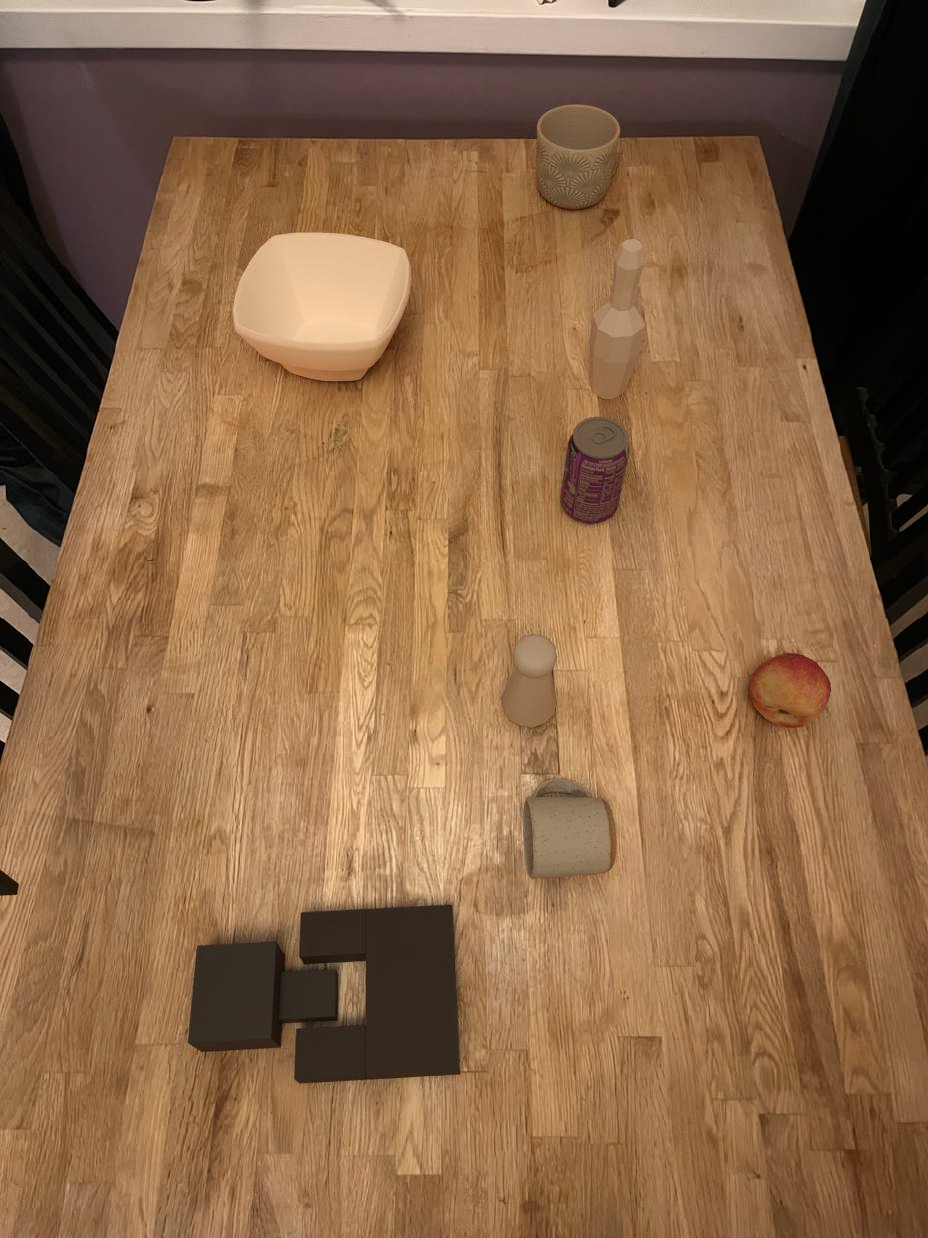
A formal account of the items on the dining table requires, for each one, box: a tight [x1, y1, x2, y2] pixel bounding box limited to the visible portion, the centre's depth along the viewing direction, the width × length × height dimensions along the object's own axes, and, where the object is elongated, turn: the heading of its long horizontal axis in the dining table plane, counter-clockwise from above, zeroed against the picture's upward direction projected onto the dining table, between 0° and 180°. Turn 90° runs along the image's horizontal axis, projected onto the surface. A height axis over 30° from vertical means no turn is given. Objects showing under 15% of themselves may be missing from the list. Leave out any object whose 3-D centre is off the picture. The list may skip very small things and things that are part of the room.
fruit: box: [748, 652, 832, 729], centre depth 99 cm, size 8×8×8 cm
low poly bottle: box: [588, 238, 646, 400], centre depth 119 cm, size 6×6×22 cm
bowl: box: [231, 232, 412, 382], centre depth 127 cm, size 22×22×12 cm
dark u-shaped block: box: [293, 903, 461, 1085], centre depth 86 cm, size 14×14×3 cm
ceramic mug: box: [522, 778, 617, 880], centre depth 92 cm, size 11×8×8 cm
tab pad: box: [187, 940, 339, 1053], centre depth 85 cm, size 12×8×5 cm, turn 93°
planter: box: [535, 103, 621, 210], centre depth 147 cm, size 12×12×11 cm
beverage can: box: [559, 416, 630, 524], centre depth 113 cm, size 7×7×12 cm
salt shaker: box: [500, 633, 558, 729], centre depth 97 cm, size 6×6×13 cm
